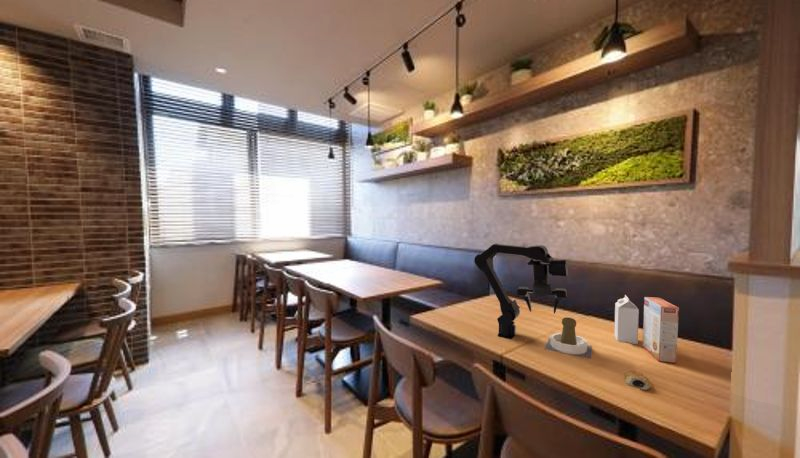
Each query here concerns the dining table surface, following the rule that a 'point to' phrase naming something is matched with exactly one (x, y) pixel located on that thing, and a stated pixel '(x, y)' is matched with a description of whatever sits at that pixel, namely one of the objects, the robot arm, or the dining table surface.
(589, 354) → the mat
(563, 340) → the pepper mill
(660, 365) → the dining table surface
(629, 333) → the milk carton
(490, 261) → the robot arm
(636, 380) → the pastry
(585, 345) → the bowl
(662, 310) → the cracker box
